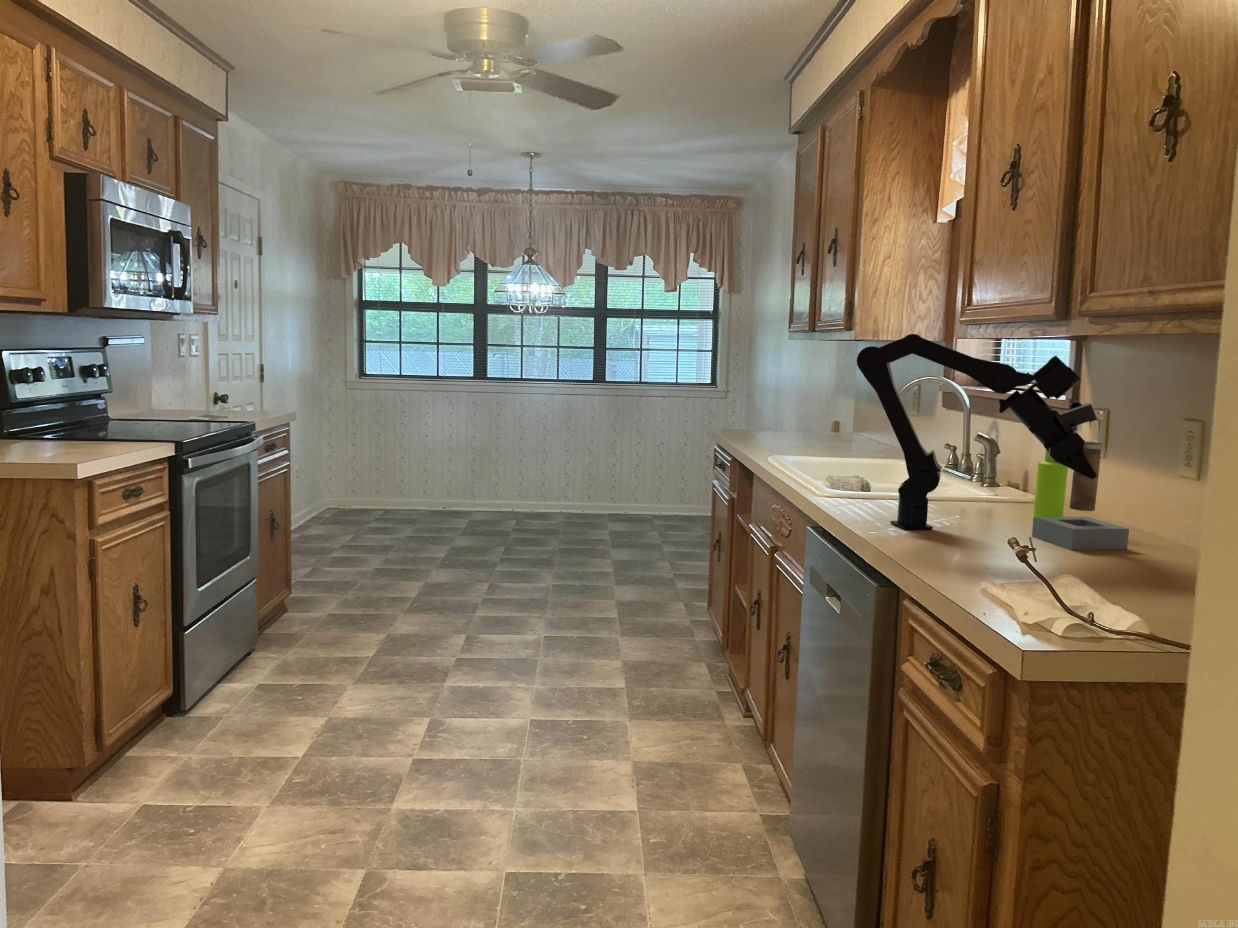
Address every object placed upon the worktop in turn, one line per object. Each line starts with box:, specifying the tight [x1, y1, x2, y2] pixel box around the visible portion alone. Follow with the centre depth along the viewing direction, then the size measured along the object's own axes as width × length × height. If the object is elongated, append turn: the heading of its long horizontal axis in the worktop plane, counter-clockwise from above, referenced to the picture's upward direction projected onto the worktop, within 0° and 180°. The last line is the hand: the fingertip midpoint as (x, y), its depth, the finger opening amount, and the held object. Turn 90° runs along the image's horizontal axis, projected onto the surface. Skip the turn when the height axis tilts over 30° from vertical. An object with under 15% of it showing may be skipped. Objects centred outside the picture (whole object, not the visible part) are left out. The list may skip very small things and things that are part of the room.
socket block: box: [1031, 516, 1130, 551], centre depth 182 cm, size 12×12×4 cm
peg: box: [1069, 440, 1103, 512], centre depth 179 cm, size 4×4×13 cm
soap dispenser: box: [1032, 449, 1069, 519], centre depth 201 cm, size 6×7×20 cm
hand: (1093, 476), depth 179 cm, fingers closed on peg, 4 cm apart
